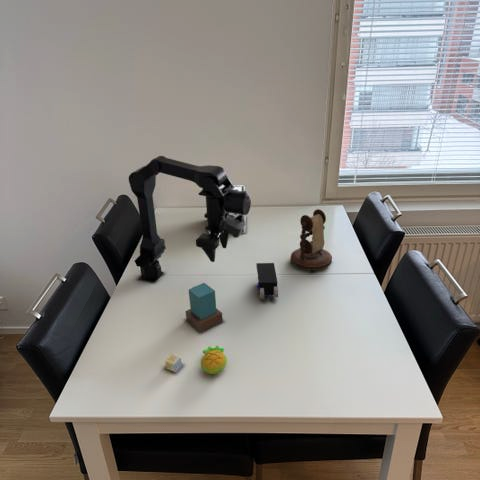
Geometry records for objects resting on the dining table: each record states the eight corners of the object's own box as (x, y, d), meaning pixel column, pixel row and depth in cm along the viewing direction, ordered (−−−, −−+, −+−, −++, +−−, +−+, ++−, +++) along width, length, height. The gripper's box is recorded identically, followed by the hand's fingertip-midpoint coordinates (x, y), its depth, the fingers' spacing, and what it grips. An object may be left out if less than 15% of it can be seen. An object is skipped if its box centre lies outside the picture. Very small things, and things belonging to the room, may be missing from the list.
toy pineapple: (201, 380, 119) (199, 365, 116) (201, 354, 127) (200, 339, 124) (227, 379, 119) (226, 363, 116) (226, 352, 127) (225, 338, 124)
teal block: (190, 311, 139) (188, 289, 134) (206, 304, 141) (204, 282, 137) (201, 319, 135) (198, 297, 130) (216, 312, 138) (214, 290, 133)
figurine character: (280, 307, 147) (274, 277, 159) (280, 289, 142) (274, 260, 154) (259, 308, 147) (254, 279, 158) (259, 290, 142) (254, 261, 154)
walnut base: (186, 320, 141) (185, 311, 139) (207, 310, 145) (207, 301, 143) (200, 332, 135) (199, 323, 133) (222, 322, 139) (222, 312, 137)
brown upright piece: (312, 278, 158) (315, 226, 148) (282, 262, 168) (283, 212, 157) (339, 262, 166) (344, 212, 156) (309, 248, 176) (311, 200, 165)
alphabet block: (175, 373, 121) (173, 364, 120) (166, 369, 123) (164, 360, 121) (182, 366, 123) (181, 357, 122) (173, 362, 125) (172, 353, 123)
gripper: (228, 226, 127) (230, 274, 136) (252, 201, 142) (252, 245, 150) (192, 221, 131) (197, 267, 139) (219, 196, 146) (221, 240, 154)
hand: (218, 254), depth 146 cm, fingers open, 9 cm apart
